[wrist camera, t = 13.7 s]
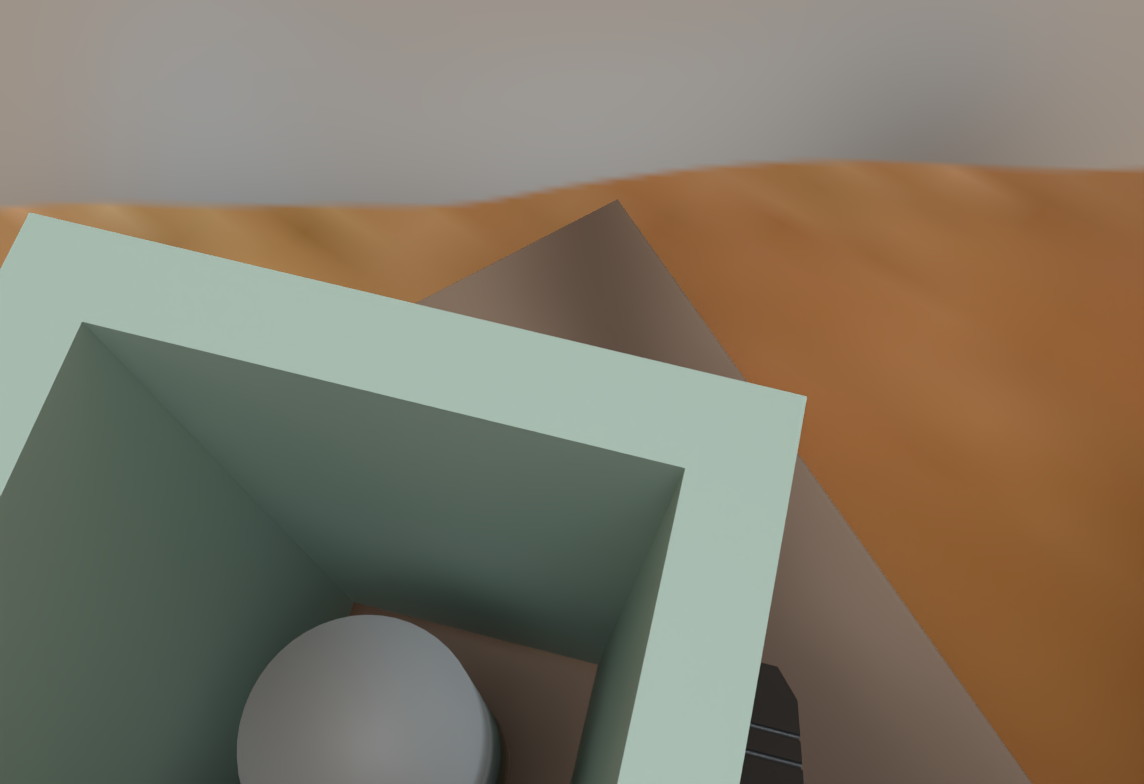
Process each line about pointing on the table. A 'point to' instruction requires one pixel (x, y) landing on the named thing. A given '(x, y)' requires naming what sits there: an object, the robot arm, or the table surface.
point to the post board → (564, 685)
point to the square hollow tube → (356, 509)
